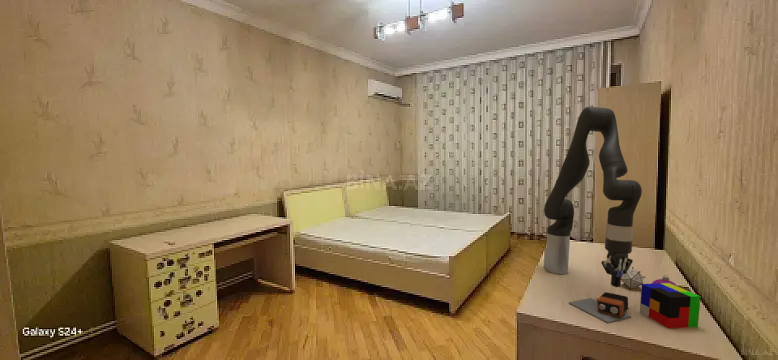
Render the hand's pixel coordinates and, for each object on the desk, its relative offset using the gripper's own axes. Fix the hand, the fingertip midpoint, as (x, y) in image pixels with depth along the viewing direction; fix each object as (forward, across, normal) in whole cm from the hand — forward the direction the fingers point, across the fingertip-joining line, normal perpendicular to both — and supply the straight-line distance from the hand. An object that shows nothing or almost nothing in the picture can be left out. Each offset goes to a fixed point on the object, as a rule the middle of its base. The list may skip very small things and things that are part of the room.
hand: (615, 286), depth 109 cm
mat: (+8, +8, 0) cm, 11 cm away
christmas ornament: (+8, -22, +3) cm, 24 cm away
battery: (+5, 0, +1) cm, 5 cm away
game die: (+8, -23, -9) cm, 26 cm away
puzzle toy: (+8, -8, +12) cm, 16 cm away
